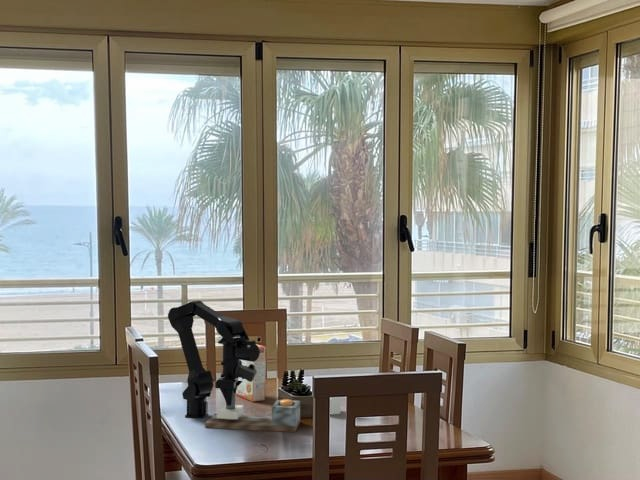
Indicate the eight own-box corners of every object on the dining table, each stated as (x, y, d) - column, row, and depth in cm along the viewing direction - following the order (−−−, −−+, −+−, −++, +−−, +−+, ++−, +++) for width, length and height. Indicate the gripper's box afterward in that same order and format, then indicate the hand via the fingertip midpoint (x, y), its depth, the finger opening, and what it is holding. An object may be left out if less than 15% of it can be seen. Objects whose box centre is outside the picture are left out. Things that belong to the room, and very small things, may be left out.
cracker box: (266, 400, 270) (266, 346, 270) (252, 402, 266) (253, 347, 266) (248, 393, 281) (249, 341, 281) (234, 395, 278) (235, 342, 278)
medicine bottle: (314, 411, 255) (315, 378, 255) (332, 409, 258) (333, 376, 258) (322, 416, 249) (323, 382, 249) (340, 414, 252) (341, 380, 251)
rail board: (205, 427, 232) (205, 404, 232) (214, 417, 244) (214, 396, 244) (295, 431, 228) (295, 408, 228) (300, 421, 240) (300, 400, 240)
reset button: (279, 408, 233) (279, 402, 233) (281, 405, 237) (281, 399, 237) (291, 408, 233) (291, 402, 233) (293, 405, 237) (293, 399, 237)
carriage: (216, 418, 233) (217, 396, 233) (223, 411, 242) (223, 389, 242) (237, 419, 232) (237, 396, 232) (243, 412, 241) (243, 390, 241)
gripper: (248, 364, 227) (248, 412, 227) (260, 354, 245) (259, 398, 245) (215, 362, 228) (214, 410, 228) (228, 353, 246) (228, 397, 247)
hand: (230, 404), depth 237 cm, fingers closed on carriage, 3 cm apart
